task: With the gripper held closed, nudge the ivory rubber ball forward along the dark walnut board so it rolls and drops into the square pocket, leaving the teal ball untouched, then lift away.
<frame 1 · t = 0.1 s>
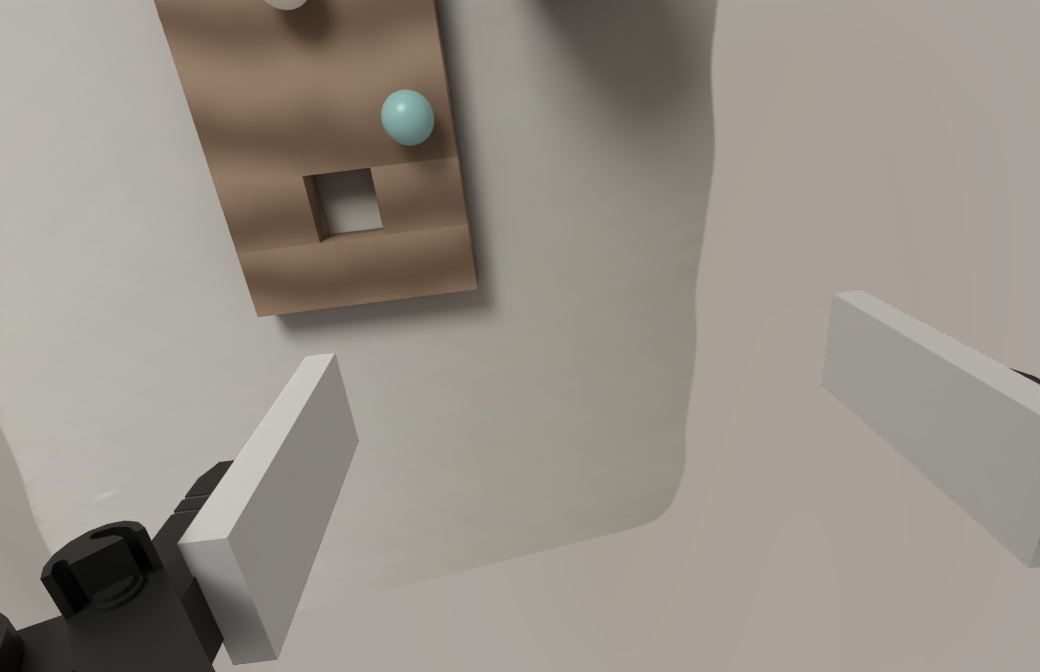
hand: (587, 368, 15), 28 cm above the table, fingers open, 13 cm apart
teal ball: (408, 117, 34), point 4 cm above the table, touching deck
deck: (327, 93, 37), on the table
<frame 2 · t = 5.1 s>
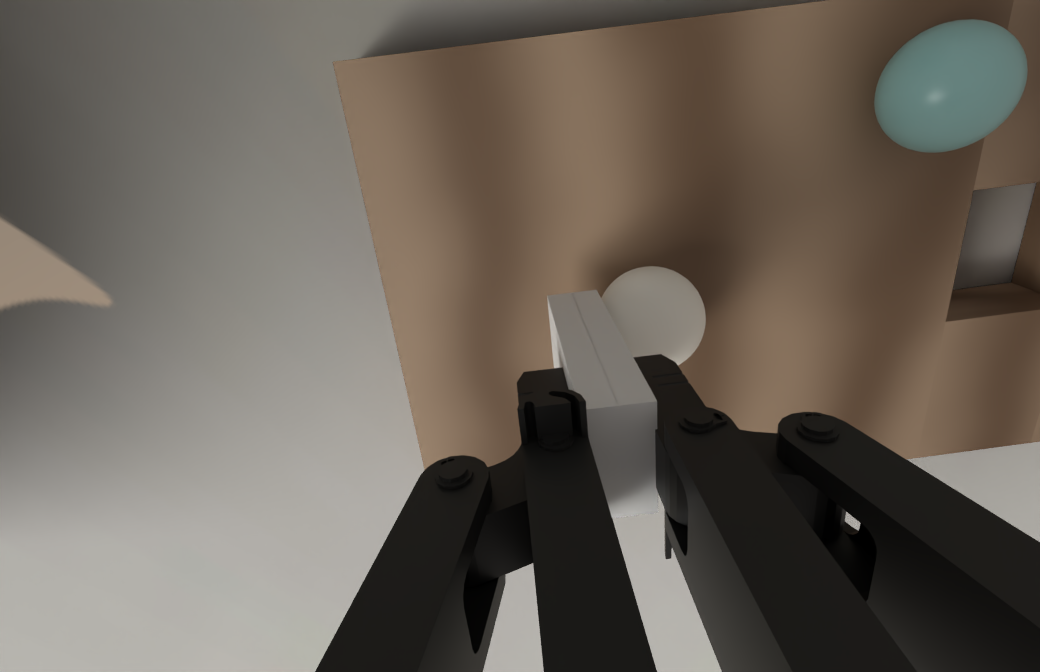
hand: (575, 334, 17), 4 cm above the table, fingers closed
teal ball: (945, 88, 15), point 4 cm above the table, touching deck
ball: (650, 319, 17), point 4 cm above the table, touching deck, gripper
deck: (780, 257, 21), on the table
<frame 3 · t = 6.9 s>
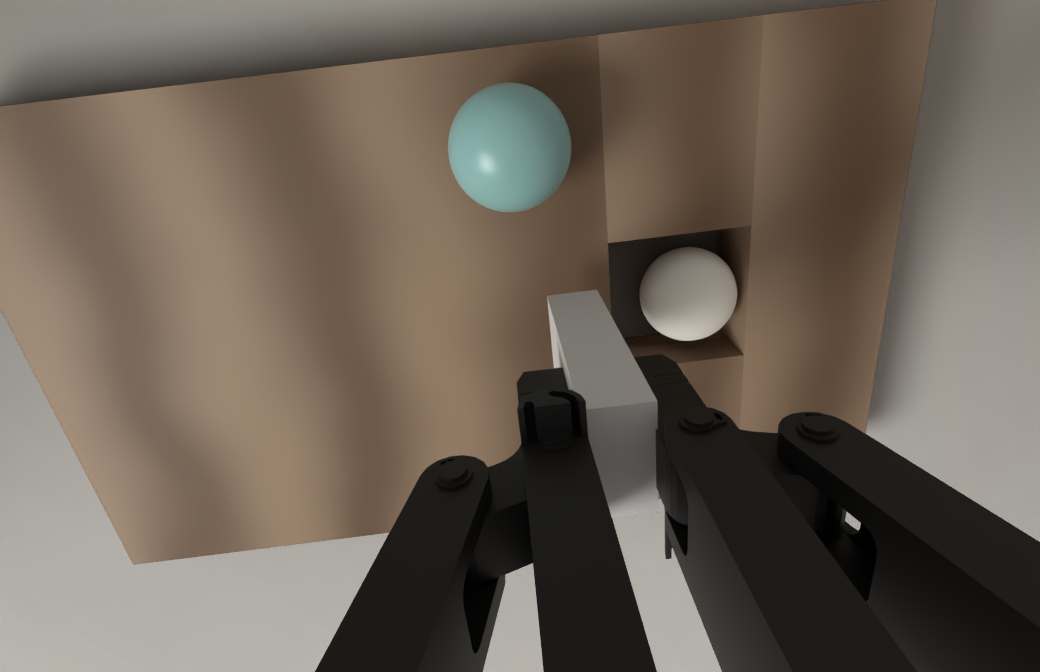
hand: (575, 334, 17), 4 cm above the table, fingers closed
teal ball: (509, 149, 15), point 4 cm above the table, touching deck
ball: (687, 294, 19), point 2 cm above the table, tilted 172°
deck: (468, 301, 21), on the table
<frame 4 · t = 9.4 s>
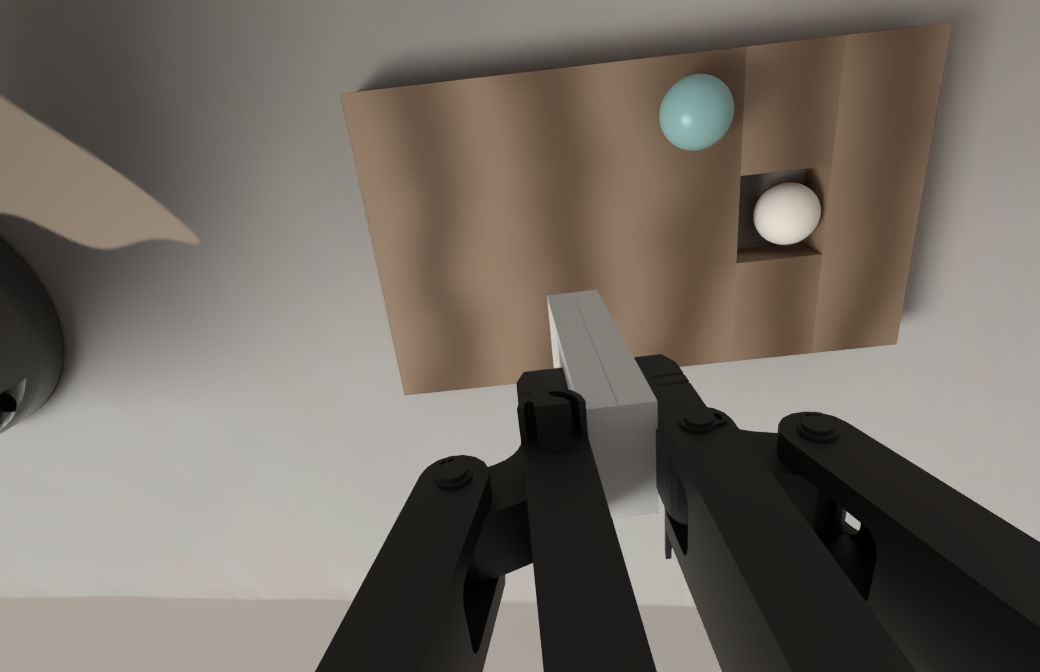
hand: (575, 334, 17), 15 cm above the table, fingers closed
teal ball: (696, 113, 25), point 4 cm above the table, touching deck
ball: (786, 213, 30), point 2 cm above the table, tilted 174°
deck: (635, 221, 31), on the table
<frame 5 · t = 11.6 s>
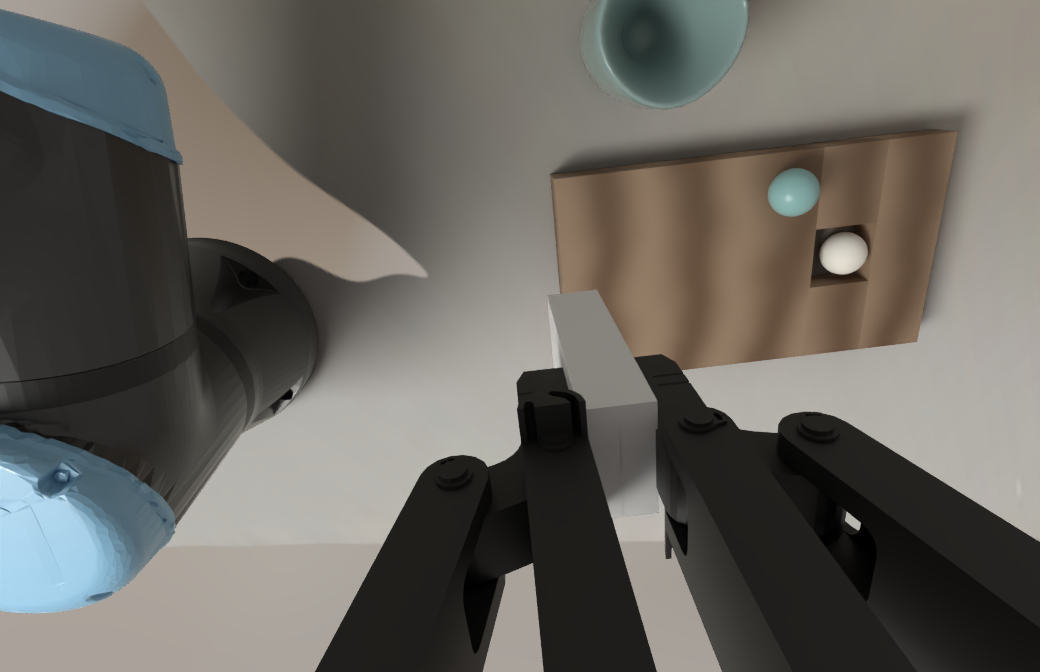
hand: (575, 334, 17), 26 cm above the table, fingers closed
teal ball: (793, 192, 38), point 4 cm above the table, touching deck
cup: (628, 41, 38), on the table
ball: (843, 253, 43), point 2 cm above the table, tilted 173°
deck: (736, 257, 44), on the table
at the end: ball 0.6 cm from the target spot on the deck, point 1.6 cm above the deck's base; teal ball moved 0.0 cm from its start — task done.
